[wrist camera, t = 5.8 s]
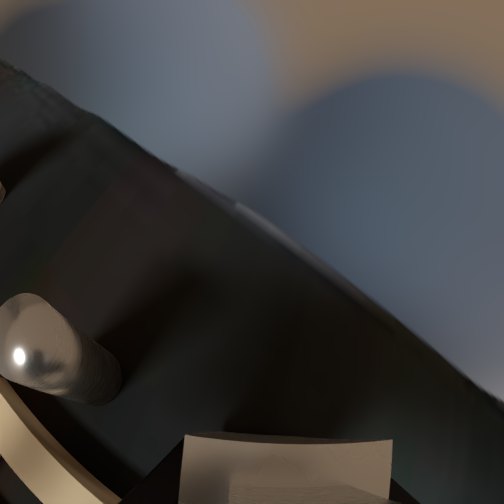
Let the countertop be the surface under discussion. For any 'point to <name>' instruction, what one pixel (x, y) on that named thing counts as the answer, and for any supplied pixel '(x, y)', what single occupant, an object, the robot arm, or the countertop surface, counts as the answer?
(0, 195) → the lighter
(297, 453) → the square bit
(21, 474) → the socket block
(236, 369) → the countertop surface
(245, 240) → the countertop surface
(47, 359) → the round peg
